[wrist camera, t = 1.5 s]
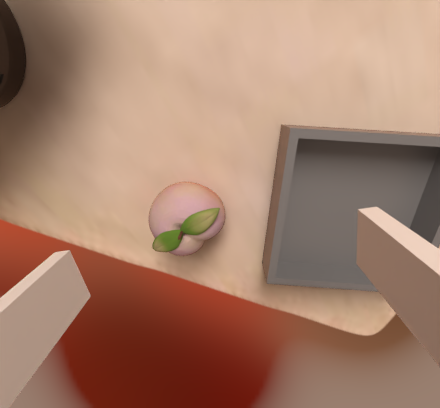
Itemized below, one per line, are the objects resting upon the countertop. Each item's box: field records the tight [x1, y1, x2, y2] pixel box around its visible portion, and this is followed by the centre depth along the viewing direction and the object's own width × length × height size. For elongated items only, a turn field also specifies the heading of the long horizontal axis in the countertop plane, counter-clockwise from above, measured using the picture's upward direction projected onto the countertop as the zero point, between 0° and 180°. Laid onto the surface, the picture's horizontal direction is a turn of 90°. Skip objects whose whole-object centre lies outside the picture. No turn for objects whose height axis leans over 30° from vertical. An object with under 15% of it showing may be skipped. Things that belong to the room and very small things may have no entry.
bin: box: [262, 125, 440, 292], centre depth 32 cm, size 20×20×5 cm
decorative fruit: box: [149, 182, 225, 256], centre depth 30 cm, size 9×8×10 cm
